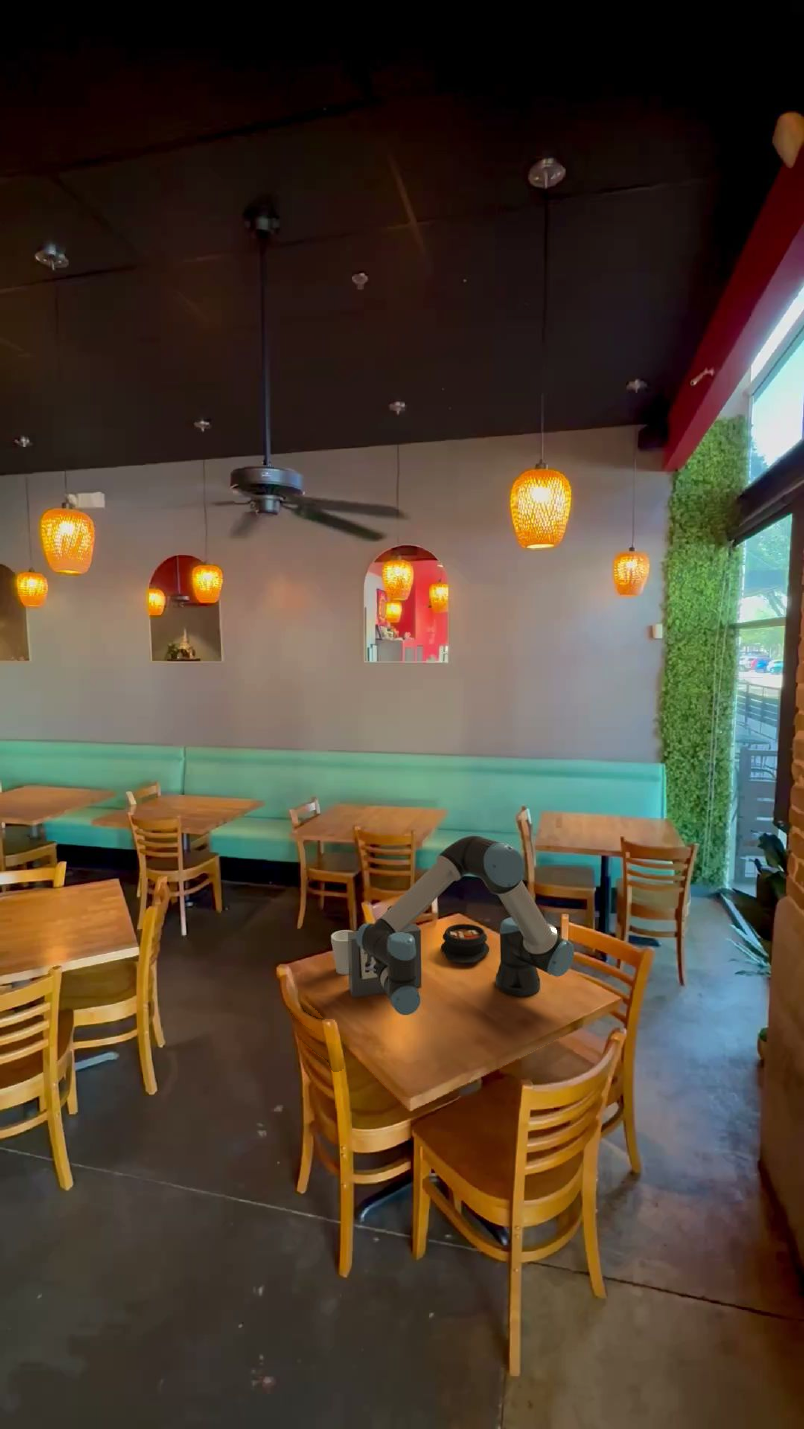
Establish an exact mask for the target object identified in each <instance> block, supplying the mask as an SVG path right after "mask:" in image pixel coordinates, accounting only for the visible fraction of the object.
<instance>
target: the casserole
mask: <svg viewBox="0 0 804 1429" xmlns="http://www.w3.org/2000/svg"><path fill="white" fill-rule="evenodd" d="M442 939H443V940H444V941H443V943H442V944H441V946H440V951H441V952H442V953H443V954H444V956H445V958H446V959H447V960H448V961H450V962H453V963H459V964H472V963H477V962H479V960H481V958H483V957H484V956H486V955H487V954H488V953H490V950H491V949H490V946H489V945H488V944H487V943H486V941H488V936H487V934H486V933H485V930H484V929H483V928H482V927H480V926H478V925H475V924H470V923H469V924H467V923H458V924H452V925H450V926H448V927H447V928H446V929H445V931H444V933H442Z"/></svg>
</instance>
